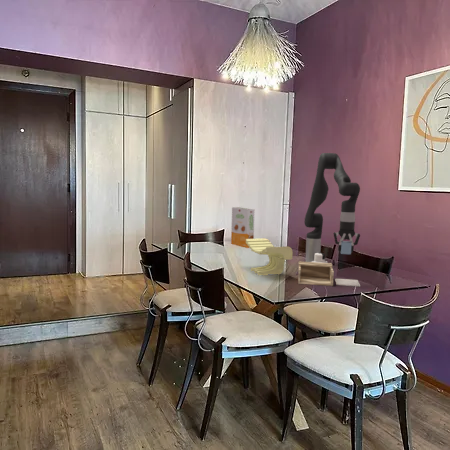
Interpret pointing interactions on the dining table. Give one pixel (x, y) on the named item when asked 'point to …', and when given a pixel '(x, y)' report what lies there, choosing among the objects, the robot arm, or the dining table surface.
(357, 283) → the mat
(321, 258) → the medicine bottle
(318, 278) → the cubby
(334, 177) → the robot arm
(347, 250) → the block
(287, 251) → the slatted curved stool
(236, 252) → the dining table surface
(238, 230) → the cereal box
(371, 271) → the dining table surface
